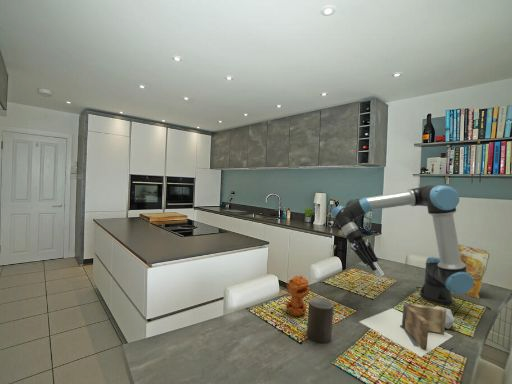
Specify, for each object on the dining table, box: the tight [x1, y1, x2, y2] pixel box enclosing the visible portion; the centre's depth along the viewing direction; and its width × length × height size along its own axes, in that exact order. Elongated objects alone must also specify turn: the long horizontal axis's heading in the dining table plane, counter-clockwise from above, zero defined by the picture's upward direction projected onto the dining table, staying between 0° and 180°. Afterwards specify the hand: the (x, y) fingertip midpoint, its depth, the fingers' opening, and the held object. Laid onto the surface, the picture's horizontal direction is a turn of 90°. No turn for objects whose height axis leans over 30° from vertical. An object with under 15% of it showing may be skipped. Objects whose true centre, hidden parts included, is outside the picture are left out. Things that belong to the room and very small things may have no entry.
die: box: [435, 305, 455, 330], centre depth 117 cm, size 8×9×10 cm
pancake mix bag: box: [458, 243, 490, 299], centre depth 156 cm, size 7×19×28 cm, turn 24°
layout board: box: [358, 307, 454, 359], centre depth 112 cm, size 27×26×1 cm
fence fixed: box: [402, 302, 447, 335], centre depth 111 cm, size 16×2×10 cm, turn 78°
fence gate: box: [405, 306, 429, 350], centre depth 104 cm, size 14×2×10 cm, turn 176°
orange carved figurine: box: [285, 274, 311, 317], centre depth 121 cm, size 11×11×18 cm
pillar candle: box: [306, 297, 334, 344], centre depth 104 cm, size 10×10×15 cm
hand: (381, 276), depth 119 cm, fingers closed
